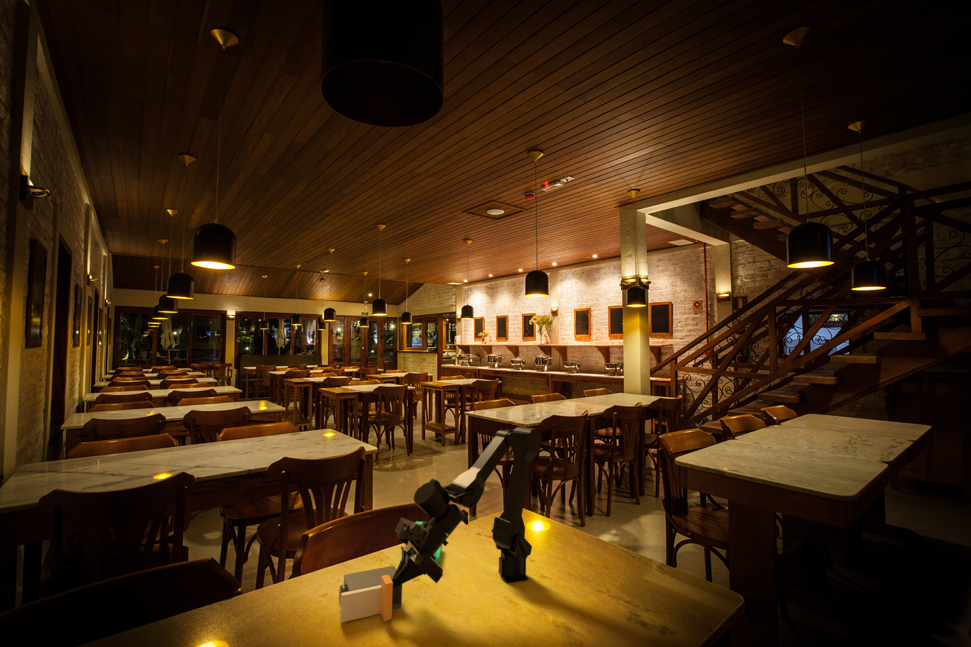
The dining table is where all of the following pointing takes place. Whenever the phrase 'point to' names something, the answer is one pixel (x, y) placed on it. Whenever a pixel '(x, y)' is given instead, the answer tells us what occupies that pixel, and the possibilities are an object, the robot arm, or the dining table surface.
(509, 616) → the dining table surface
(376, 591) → the side door
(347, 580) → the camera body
